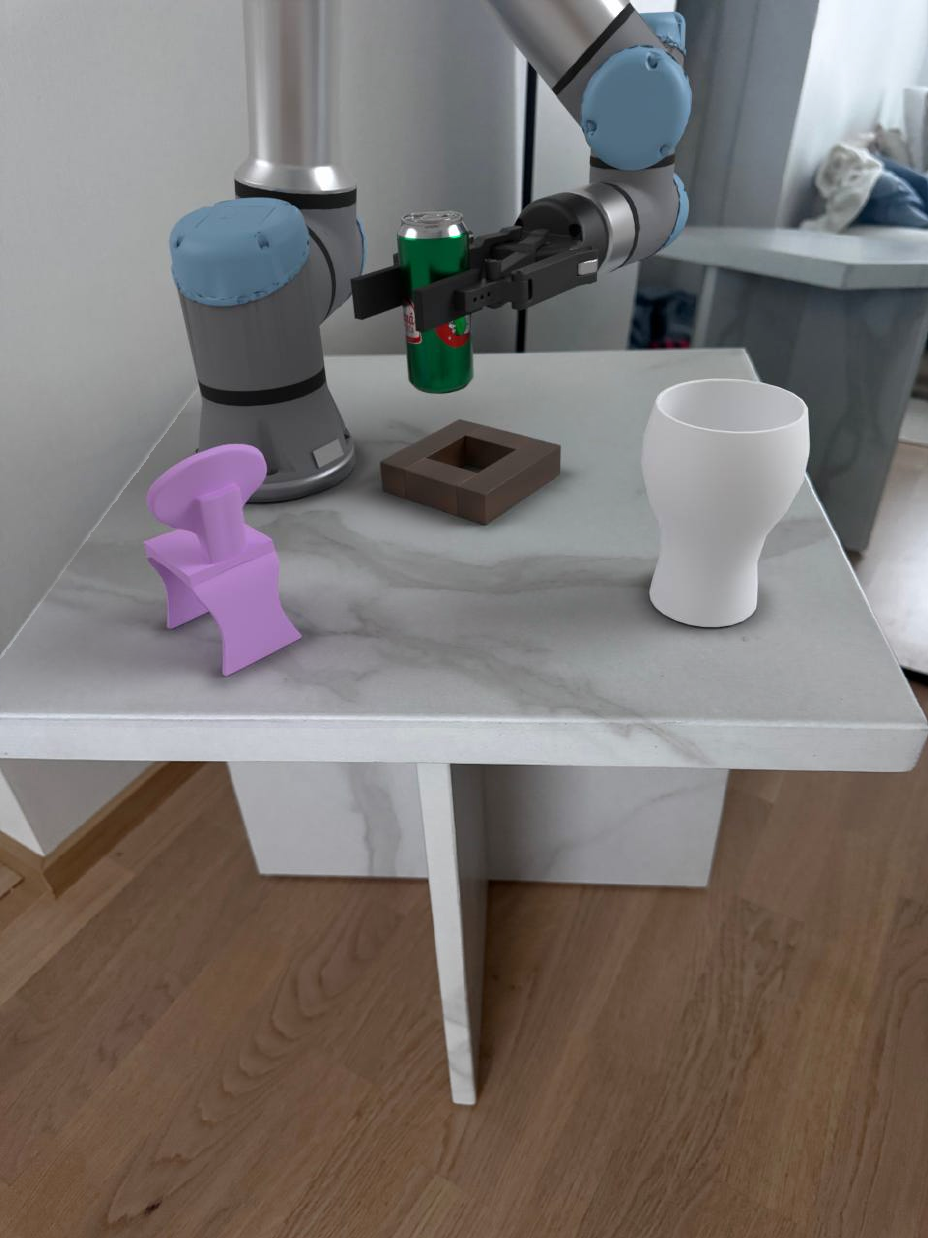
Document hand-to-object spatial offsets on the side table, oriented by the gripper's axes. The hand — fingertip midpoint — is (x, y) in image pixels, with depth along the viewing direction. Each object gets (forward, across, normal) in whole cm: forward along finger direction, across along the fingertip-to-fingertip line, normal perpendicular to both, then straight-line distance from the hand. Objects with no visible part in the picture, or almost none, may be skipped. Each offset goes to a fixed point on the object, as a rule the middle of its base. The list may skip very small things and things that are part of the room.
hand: (387, 305), depth 59 cm
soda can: (-5, 0, -7) cm, 9 cm away
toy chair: (+15, +4, -20) cm, 26 cm away
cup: (-8, -22, -20) cm, 31 cm away
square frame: (-14, +4, -20) cm, 24 cm away
